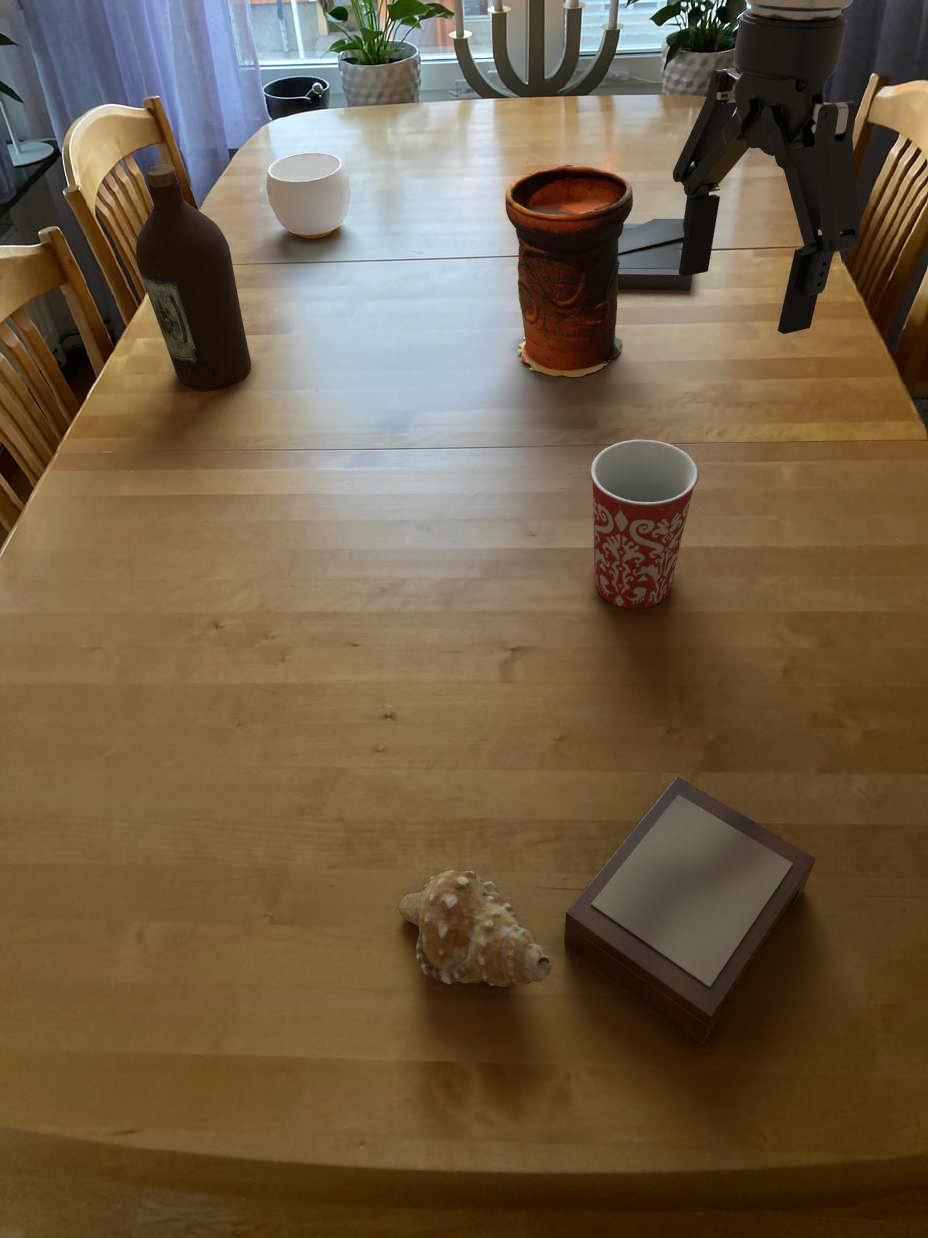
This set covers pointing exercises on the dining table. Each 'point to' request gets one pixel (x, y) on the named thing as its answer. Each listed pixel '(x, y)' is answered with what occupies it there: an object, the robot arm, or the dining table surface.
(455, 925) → the seashell
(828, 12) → the robot arm
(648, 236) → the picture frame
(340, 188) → the cup
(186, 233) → the olive oil
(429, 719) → the dining table surface
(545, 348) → the vessel
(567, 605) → the dining table surface
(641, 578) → the mug
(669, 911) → the brown rectangular block
